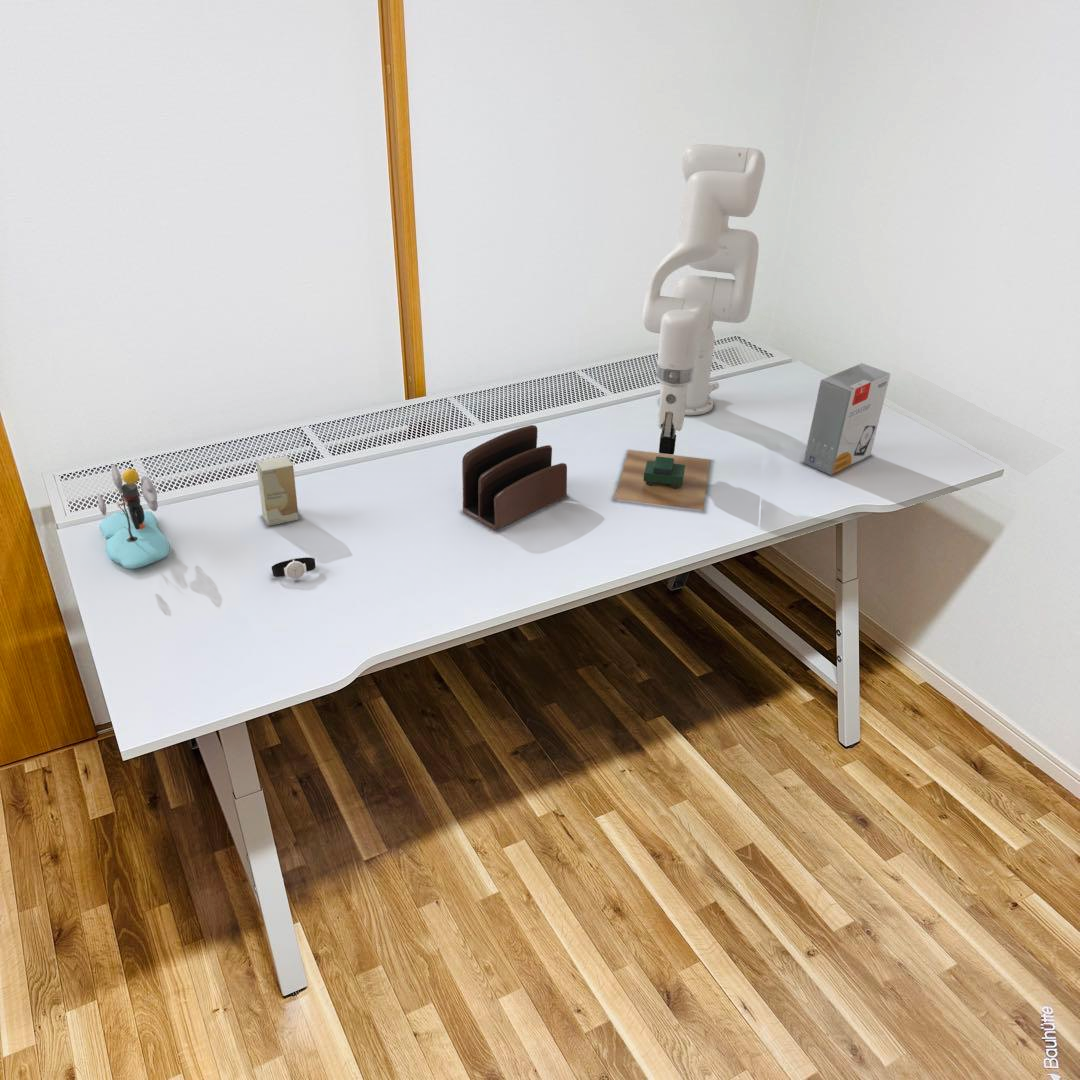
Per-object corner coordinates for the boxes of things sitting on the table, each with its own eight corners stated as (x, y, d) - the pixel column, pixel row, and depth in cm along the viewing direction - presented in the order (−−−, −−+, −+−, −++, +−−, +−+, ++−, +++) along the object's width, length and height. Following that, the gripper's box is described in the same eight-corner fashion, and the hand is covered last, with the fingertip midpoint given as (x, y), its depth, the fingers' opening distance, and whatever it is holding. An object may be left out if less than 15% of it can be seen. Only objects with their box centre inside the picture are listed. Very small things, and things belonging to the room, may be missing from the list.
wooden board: (628, 451, 219) (628, 449, 219) (710, 461, 216) (710, 459, 216) (614, 500, 201) (614, 498, 201) (702, 512, 198) (702, 510, 198)
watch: (275, 585, 174) (272, 568, 172) (270, 570, 177) (267, 554, 175) (318, 575, 176) (316, 559, 175) (313, 561, 180) (311, 545, 178)
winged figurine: (98, 524, 189) (80, 454, 181) (156, 511, 193) (141, 443, 185) (113, 579, 174) (94, 505, 166) (175, 564, 178) (160, 491, 170)
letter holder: (461, 512, 196) (460, 449, 188) (533, 479, 208) (534, 418, 200) (495, 532, 190) (495, 468, 182) (567, 497, 202) (570, 435, 194)
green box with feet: (646, 472, 210) (642, 485, 206) (647, 454, 208) (644, 466, 203) (683, 477, 209) (681, 490, 204) (685, 458, 207) (683, 471, 202)
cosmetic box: (268, 527, 190) (259, 471, 183) (262, 516, 193) (253, 461, 186) (300, 519, 192) (293, 464, 185) (294, 509, 195) (287, 454, 189)
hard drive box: (831, 476, 212) (849, 391, 201) (802, 463, 216) (818, 379, 205) (872, 455, 220) (891, 372, 209) (843, 442, 225) (860, 361, 214)
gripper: (690, 388, 193) (680, 470, 203) (696, 360, 206) (687, 438, 216) (652, 384, 194) (644, 466, 204) (660, 356, 207) (653, 434, 217)
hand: (666, 452), depth 210 cm, fingers closed
